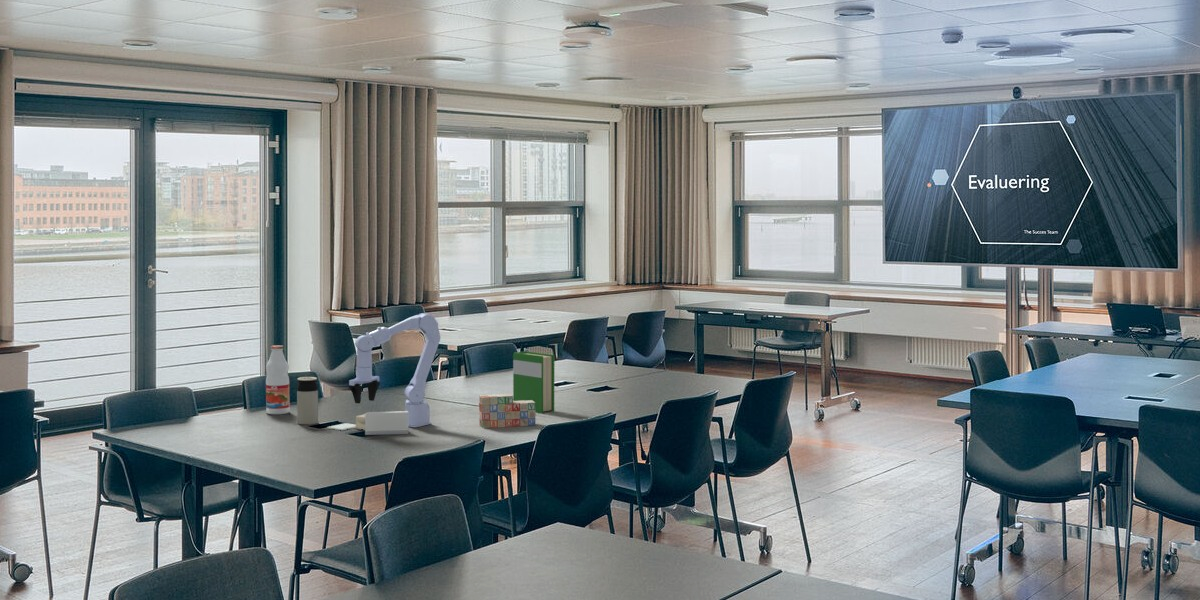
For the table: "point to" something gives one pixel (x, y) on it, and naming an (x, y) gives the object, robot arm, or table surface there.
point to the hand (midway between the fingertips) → (364, 401)
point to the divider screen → (386, 423)
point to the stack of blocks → (505, 411)
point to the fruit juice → (277, 383)
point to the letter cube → (360, 422)
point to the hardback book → (534, 379)
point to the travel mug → (307, 401)
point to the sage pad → (342, 426)
